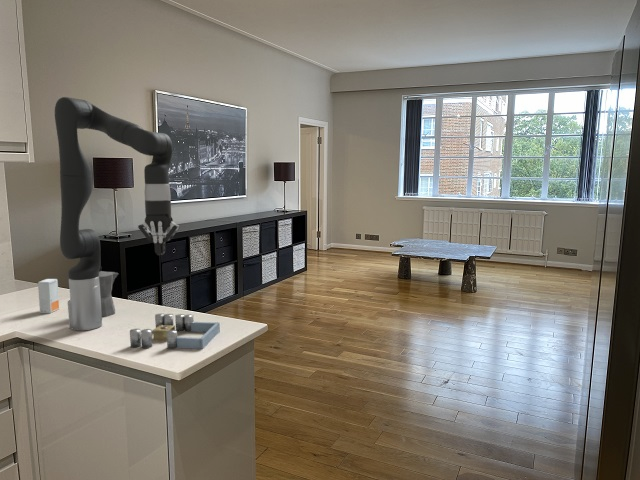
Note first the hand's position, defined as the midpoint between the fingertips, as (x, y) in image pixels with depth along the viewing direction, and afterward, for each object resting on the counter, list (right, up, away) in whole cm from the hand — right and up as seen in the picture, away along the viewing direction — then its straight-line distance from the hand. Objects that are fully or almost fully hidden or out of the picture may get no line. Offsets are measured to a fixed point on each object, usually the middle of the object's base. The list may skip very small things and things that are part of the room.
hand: (160, 254), depth 149 cm
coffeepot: (-32, -23, +29) cm, 49 cm away
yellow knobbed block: (0, -27, +4) cm, 27 cm away
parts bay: (+11, -27, +3) cm, 29 cm away
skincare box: (-53, -23, +33) cm, 67 cm away
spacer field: (0, -27, +4) cm, 27 cm away
